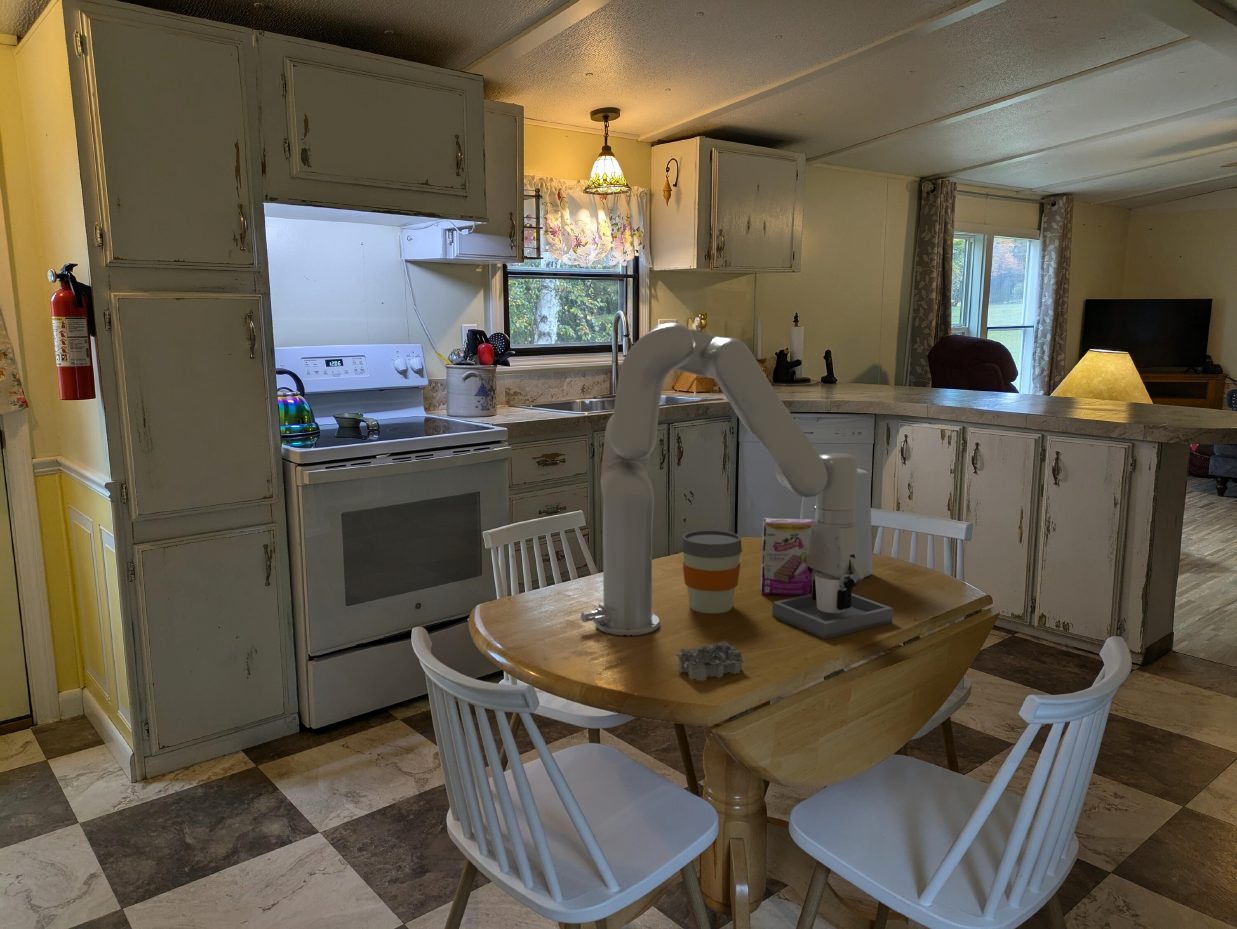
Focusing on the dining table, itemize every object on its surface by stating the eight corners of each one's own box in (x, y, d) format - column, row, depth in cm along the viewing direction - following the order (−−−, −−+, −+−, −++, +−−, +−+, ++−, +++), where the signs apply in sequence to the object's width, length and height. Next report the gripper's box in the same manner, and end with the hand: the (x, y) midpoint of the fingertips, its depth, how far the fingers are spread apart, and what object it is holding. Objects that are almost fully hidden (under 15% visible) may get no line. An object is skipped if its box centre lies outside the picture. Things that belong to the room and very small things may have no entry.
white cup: (853, 606, 170) (854, 573, 169) (843, 616, 164) (844, 581, 163) (820, 601, 174) (821, 568, 173) (809, 610, 168) (810, 576, 167)
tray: (824, 639, 159) (825, 624, 158) (772, 616, 171) (772, 602, 171) (892, 622, 168) (892, 608, 167) (837, 601, 180) (837, 588, 180)
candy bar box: (761, 595, 185) (763, 522, 182) (760, 588, 190) (761, 517, 187) (813, 597, 184) (816, 523, 181) (810, 590, 189) (813, 518, 186)
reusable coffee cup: (750, 603, 180) (752, 534, 177) (724, 620, 169) (725, 547, 167) (698, 593, 186) (699, 527, 184) (669, 609, 176) (670, 539, 174)
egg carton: (692, 685, 139) (693, 661, 139) (672, 668, 146) (672, 645, 146) (748, 674, 143) (749, 651, 143) (726, 658, 150) (726, 636, 150)
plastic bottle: (787, 569, 205) (791, 455, 201) (835, 561, 212) (839, 451, 208) (830, 585, 192) (835, 464, 187) (879, 576, 199) (885, 459, 194)
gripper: (790, 510, 172) (787, 595, 175) (853, 527, 157) (849, 619, 160) (818, 506, 175) (814, 589, 178) (882, 522, 161) (877, 613, 164)
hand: (831, 603), depth 169 cm, fingers closed on white cup, 6 cm apart
